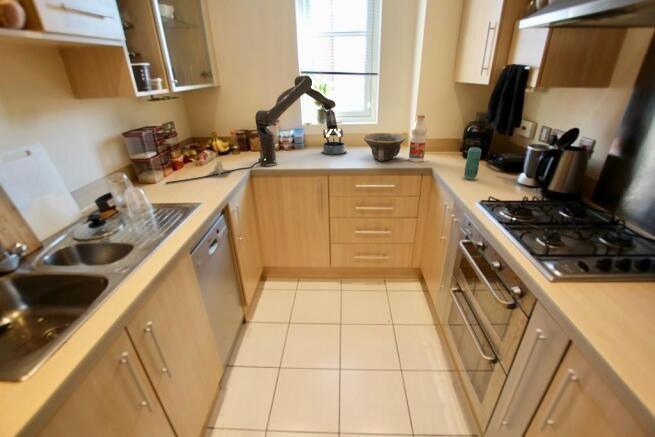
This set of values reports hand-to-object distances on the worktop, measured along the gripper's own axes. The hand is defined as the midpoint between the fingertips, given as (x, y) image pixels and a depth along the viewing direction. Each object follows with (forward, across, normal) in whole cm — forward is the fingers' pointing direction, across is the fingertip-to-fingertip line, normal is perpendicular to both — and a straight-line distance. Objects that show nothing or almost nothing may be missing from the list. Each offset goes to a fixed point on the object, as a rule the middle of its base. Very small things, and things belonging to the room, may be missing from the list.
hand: (334, 142), depth 226 cm
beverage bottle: (+60, +60, -49) cm, 98 cm away
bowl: (+24, +28, -13) cm, 39 cm away
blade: (+4, 0, +6) cm, 7 cm away
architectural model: (+31, -76, -20) cm, 84 cm away
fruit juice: (+30, +48, -19) cm, 59 cm away
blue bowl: (+4, 0, +6) cm, 8 cm away
